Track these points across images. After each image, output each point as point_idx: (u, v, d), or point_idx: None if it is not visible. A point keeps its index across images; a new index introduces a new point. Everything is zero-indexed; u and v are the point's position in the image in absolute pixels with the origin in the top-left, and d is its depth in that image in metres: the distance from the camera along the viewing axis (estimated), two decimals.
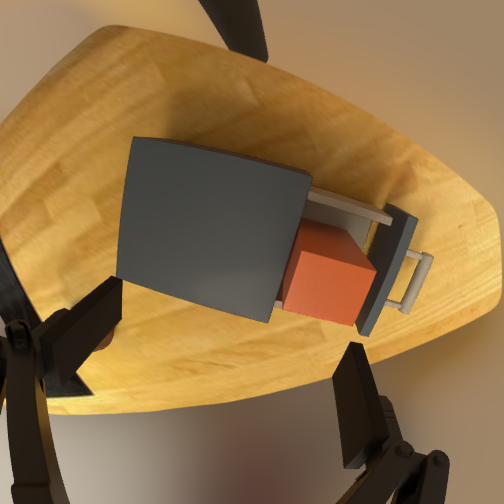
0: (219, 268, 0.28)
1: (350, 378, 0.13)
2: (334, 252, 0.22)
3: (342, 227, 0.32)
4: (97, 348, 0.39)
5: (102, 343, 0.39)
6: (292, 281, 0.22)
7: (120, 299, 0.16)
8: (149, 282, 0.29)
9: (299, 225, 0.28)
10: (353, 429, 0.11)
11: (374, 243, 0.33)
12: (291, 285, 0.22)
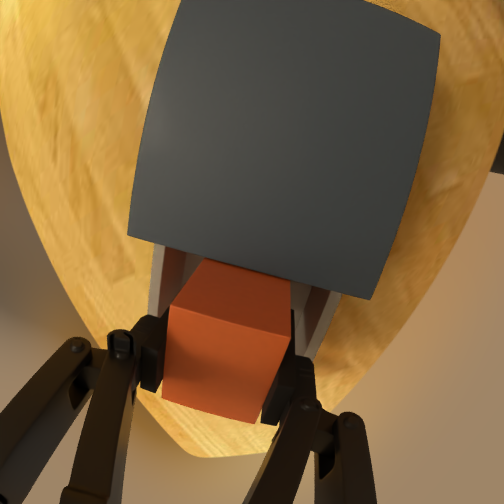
0: (219, 150, 0.14)
1: None
2: None
3: None
4: None
5: None
6: (229, 323, 0.11)
7: None
8: (184, 25, 0.12)
9: None
10: None
11: None
12: (221, 322, 0.11)
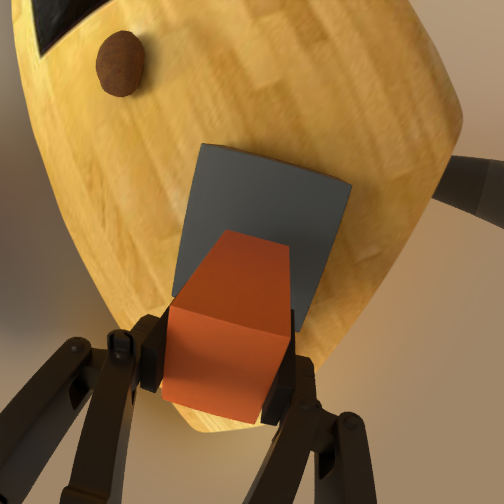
0: None
1: None
2: None
3: None
4: (102, 82, 0.29)
5: (109, 89, 0.29)
6: (229, 324, 0.11)
7: None
8: (199, 185, 0.28)
9: None
10: None
11: None
12: (221, 322, 0.11)
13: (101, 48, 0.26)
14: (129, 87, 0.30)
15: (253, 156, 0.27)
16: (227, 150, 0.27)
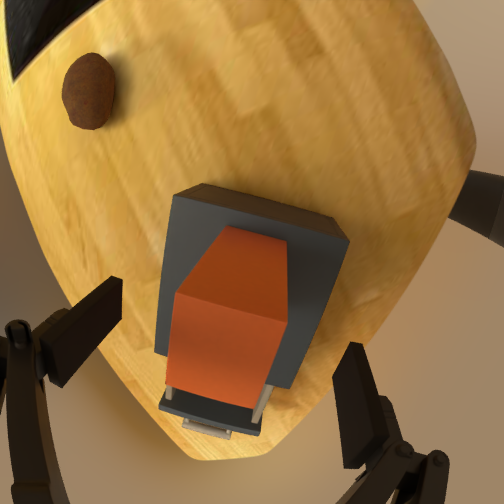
0: None
1: (350, 378, 0.13)
2: None
3: None
4: (69, 116, 0.26)
5: (77, 123, 0.26)
6: (230, 309, 0.12)
7: (120, 299, 0.16)
8: (173, 243, 0.25)
9: (286, 263, 0.19)
10: (353, 429, 0.11)
11: None
12: (223, 308, 0.12)
13: (66, 76, 0.23)
14: (98, 120, 0.27)
15: (233, 210, 0.23)
16: (203, 203, 0.23)
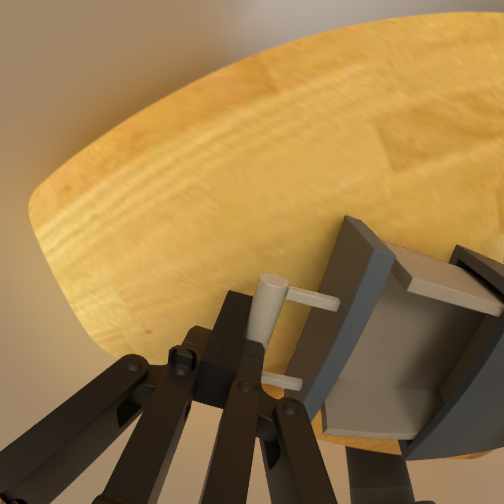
0: None
1: None
2: None
3: (370, 357, 0.20)
4: None
5: None
6: None
7: None
8: None
9: None
10: None
11: None
12: None
13: None
14: None
15: None
16: None
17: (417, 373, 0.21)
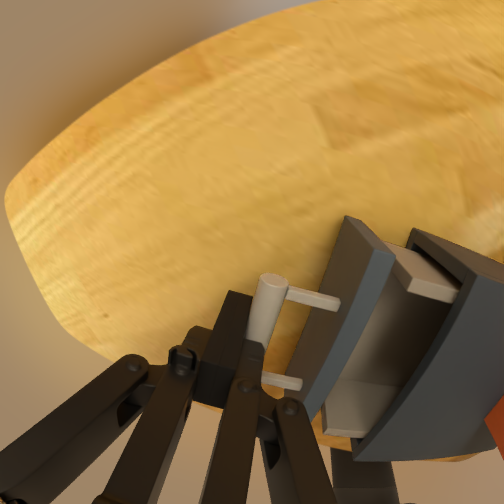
0: (499, 361, 0.12)
1: None
2: None
3: (370, 357, 0.20)
4: None
5: None
6: None
7: None
8: None
9: None
10: None
11: None
12: None
13: None
14: None
15: None
16: None
17: None
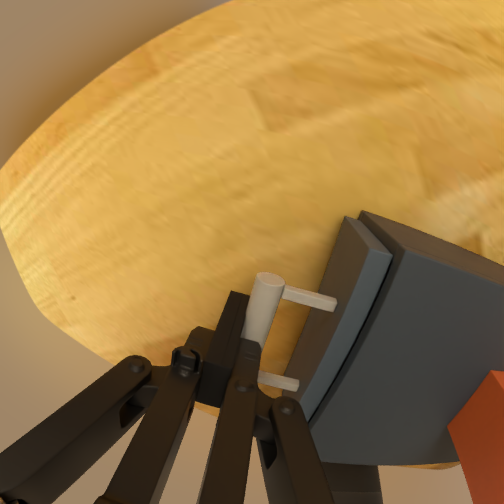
0: (455, 359, 0.12)
1: None
2: None
3: None
4: None
5: None
6: None
7: None
8: None
9: None
10: None
11: None
12: None
13: None
14: None
15: None
16: None
17: None
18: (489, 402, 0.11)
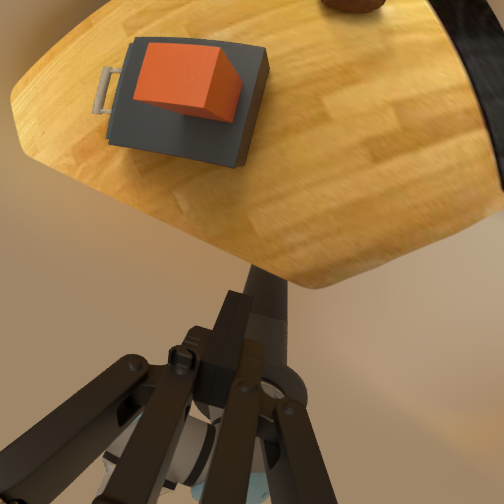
0: None
1: None
2: (177, 106, 0.21)
3: None
4: None
5: None
6: (211, 76, 0.18)
7: None
8: (228, 47, 0.28)
9: (222, 118, 0.26)
10: None
11: None
12: (212, 72, 0.18)
13: None
14: None
15: (254, 86, 0.29)
16: (259, 67, 0.28)
17: None
18: None
